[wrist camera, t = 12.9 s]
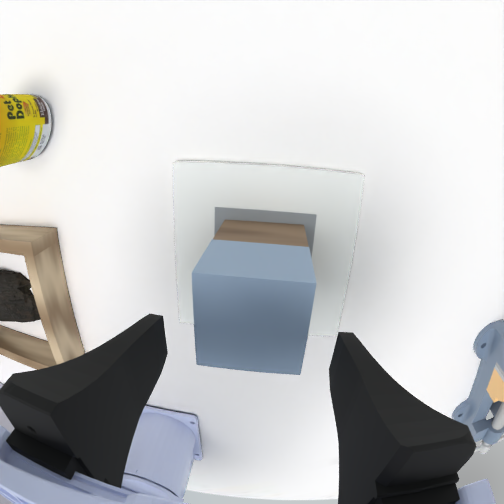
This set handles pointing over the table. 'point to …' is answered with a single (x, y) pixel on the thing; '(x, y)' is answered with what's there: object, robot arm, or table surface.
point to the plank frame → (41, 300)
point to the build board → (270, 210)
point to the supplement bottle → (23, 127)
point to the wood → (16, 298)
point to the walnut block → (262, 232)
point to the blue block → (253, 306)
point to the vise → (486, 390)
